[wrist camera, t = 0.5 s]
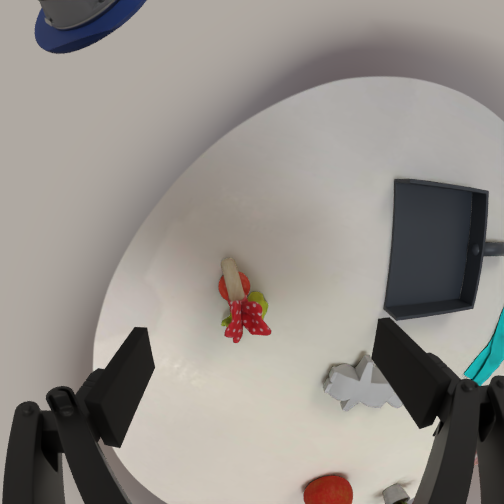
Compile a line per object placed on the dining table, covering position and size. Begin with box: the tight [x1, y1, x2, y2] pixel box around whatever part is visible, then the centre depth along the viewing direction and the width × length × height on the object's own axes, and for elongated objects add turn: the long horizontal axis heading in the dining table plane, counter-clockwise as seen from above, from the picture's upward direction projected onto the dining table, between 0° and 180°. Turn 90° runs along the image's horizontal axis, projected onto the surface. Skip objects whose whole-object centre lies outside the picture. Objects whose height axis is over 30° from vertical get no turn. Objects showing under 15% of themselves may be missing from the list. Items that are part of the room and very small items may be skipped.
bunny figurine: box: [323, 355, 403, 411], centre depth 38 cm, size 10×5×15 cm
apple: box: [304, 475, 353, 504], centre depth 42 cm, size 11×11×11 cm
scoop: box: [384, 179, 504, 321], centre depth 34 cm, size 27×18×4 cm
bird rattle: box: [218, 258, 271, 343], centre depth 31 cm, size 6×11×9 cm
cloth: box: [464, 308, 504, 386], centre depth 40 cm, size 26×14×2 cm, turn 153°
